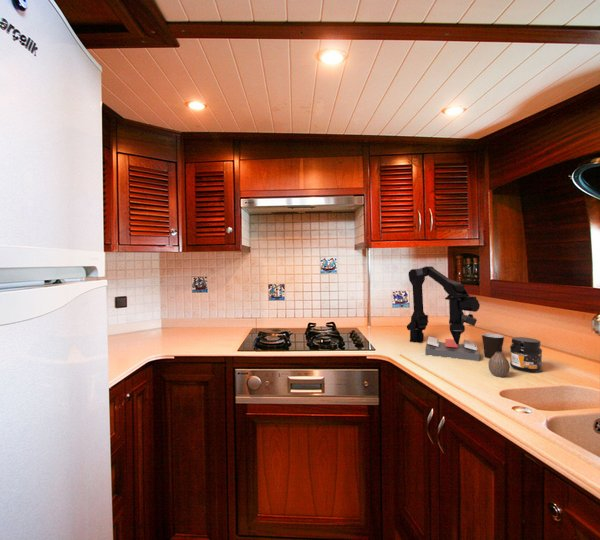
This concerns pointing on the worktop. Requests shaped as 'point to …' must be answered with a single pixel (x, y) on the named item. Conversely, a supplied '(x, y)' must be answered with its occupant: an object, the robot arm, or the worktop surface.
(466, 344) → the rocker right
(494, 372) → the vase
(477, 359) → the rocker switch panel
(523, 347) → the supplement container
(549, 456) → the worktop surface
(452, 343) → the rocker red
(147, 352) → the worktop surface
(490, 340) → the coffee mug
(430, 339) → the plate
